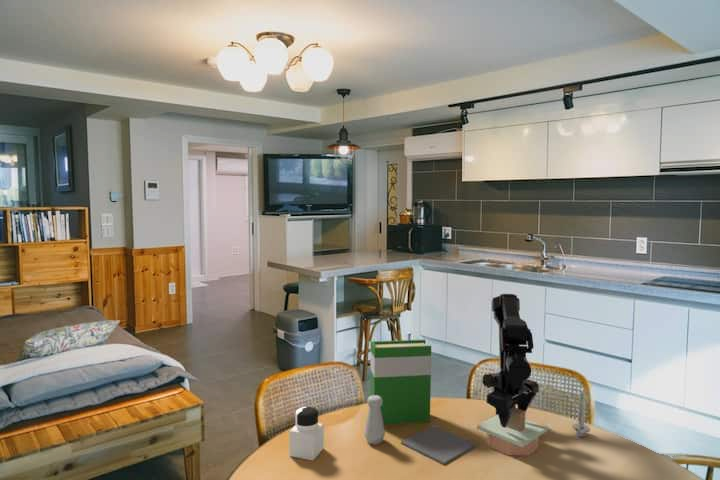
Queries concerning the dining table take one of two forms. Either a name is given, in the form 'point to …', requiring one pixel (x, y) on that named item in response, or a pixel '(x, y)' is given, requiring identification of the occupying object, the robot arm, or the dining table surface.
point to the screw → (581, 418)
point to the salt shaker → (374, 421)
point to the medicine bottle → (306, 435)
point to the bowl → (511, 446)
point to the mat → (439, 444)
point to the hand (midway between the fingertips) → (512, 422)
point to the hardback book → (401, 380)
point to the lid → (513, 428)
